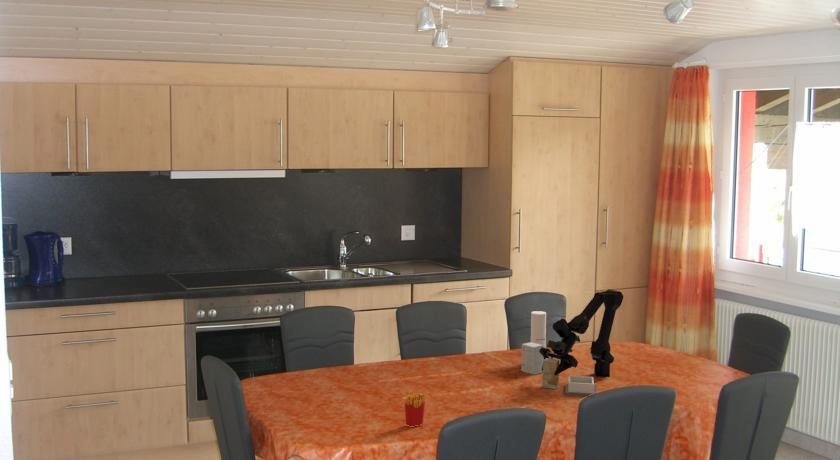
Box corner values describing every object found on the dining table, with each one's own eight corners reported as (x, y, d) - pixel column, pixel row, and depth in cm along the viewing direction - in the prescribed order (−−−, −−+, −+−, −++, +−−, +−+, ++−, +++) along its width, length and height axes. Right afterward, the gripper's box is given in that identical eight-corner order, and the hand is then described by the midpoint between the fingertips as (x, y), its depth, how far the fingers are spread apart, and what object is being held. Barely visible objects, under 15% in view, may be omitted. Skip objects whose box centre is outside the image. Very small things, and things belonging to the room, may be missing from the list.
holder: (595, 387, 357) (596, 376, 357) (596, 396, 344) (597, 385, 344) (565, 385, 360) (565, 374, 359) (565, 394, 347) (565, 383, 346)
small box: (543, 372, 379) (543, 345, 378) (533, 375, 375) (534, 347, 374) (530, 368, 386) (530, 341, 384) (520, 371, 382) (521, 343, 380)
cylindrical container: (544, 366, 390) (545, 314, 387) (529, 365, 391) (530, 313, 388) (545, 362, 396) (546, 311, 394) (530, 361, 398) (531, 310, 395)
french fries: (408, 428, 306) (409, 397, 305) (403, 425, 310) (403, 395, 308) (427, 424, 311) (427, 393, 310) (421, 421, 315) (421, 390, 313)
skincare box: (541, 387, 357) (542, 360, 355) (545, 384, 361) (545, 357, 359) (556, 389, 354) (556, 361, 352) (559, 386, 358) (559, 359, 356)
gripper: (542, 329, 364) (524, 357, 359) (574, 337, 350) (555, 367, 344) (554, 343, 370) (536, 371, 365) (586, 352, 355) (568, 382, 350)
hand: (548, 372), depth 356 cm, fingers closed on skincare box, 7 cm apart
